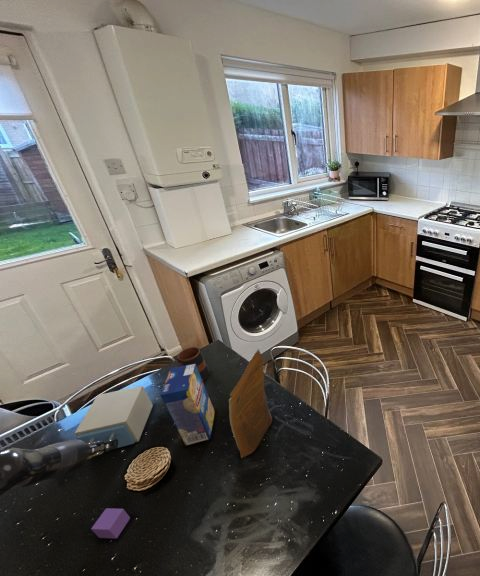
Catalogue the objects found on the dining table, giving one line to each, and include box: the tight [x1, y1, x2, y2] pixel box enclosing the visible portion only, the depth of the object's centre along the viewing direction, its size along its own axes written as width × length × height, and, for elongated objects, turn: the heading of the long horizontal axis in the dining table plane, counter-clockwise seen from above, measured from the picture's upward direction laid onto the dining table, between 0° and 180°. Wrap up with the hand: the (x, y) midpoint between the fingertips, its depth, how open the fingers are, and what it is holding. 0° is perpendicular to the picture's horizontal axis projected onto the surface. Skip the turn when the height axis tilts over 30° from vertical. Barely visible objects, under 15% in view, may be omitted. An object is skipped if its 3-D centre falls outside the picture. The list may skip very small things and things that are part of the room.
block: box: [90, 507, 131, 539], centre depth 75 cm, size 4×4×4 cm
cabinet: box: [74, 385, 154, 444], centre depth 98 cm, size 15×13×10 cm
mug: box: [174, 346, 210, 382], centre depth 116 cm, size 9×12×12 cm
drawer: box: [76, 424, 136, 449], centre depth 95 cm, size 18×11×8 cm, turn 18°
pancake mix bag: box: [228, 348, 273, 459], centre depth 92 cm, size 7×19×28 cm, turn 169°
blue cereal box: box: [159, 363, 216, 446], centre depth 95 cm, size 7×11×22 cm, turn 19°
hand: (102, 446), depth 89 cm, fingers closed on drawer, 6 cm apart
